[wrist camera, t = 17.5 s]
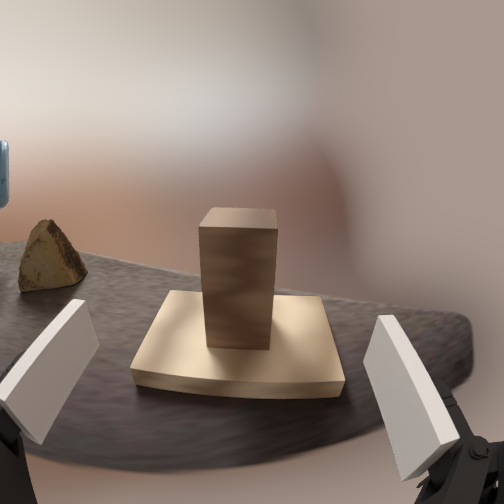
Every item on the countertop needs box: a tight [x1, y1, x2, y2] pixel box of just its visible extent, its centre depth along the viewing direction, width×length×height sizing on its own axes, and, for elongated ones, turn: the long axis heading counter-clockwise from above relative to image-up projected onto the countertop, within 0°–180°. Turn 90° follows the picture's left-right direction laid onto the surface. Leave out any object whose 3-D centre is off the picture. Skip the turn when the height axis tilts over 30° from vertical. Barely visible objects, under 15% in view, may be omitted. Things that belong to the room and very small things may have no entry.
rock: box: [18, 219, 88, 292], centre depth 32 cm, size 11×9×10 cm
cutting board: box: [130, 290, 345, 399], centre depth 24 cm, size 16×12×2 cm
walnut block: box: [199, 208, 278, 350], centre depth 22 cm, size 5×5×10 cm
